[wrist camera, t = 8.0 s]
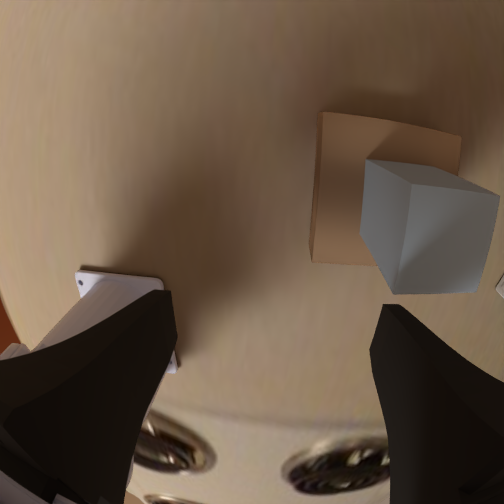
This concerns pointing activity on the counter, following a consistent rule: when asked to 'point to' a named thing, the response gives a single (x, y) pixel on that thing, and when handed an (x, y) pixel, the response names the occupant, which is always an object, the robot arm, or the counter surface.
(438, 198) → the slate-blue block
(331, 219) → the tan flat block
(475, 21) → the counter surface
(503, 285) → the light bulb box
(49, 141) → the counter surface
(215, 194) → the counter surface
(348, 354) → the counter surface
